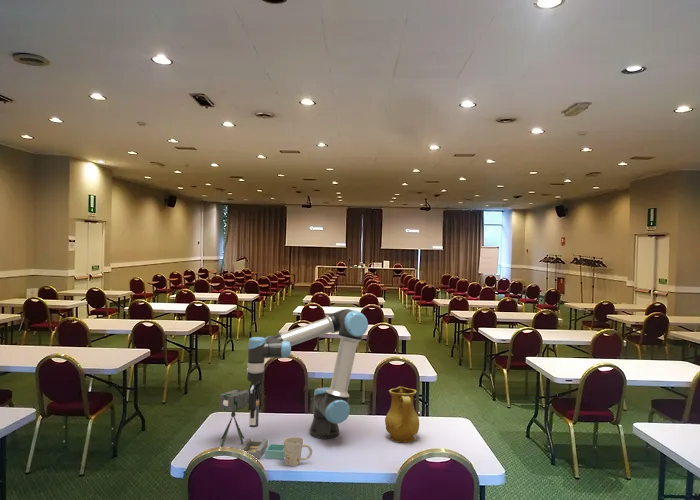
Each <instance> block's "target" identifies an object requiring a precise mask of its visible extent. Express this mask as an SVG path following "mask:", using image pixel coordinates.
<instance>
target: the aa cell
mask: <svg viewBox="0 0 700 500" xmlns="http://www.w3.org/2000/svg"><path fill="white" fill-rule="evenodd" d="M259 405H260V404H259V399H258V398H256V425H249V427H250V428H257V427H259V415H260V414H259V412H260V407H259ZM248 420H249V421H250V419H248Z"/></svg>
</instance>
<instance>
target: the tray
mask: <svg viewBox="0 0 700 500" xmlns="http://www.w3.org/2000/svg"><path fill="white" fill-rule="evenodd" d="M264 459H265V460H278V461H279V460H280V461H281V460H282V461H284V460H285V451H284V443H283V444H282V443H268V447H267V449H266V450H265V453H264Z"/></svg>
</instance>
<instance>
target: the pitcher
mask: <svg viewBox="0 0 700 500" xmlns="http://www.w3.org/2000/svg"><path fill="white" fill-rule="evenodd" d="M388 392H389V394H390V396H391V401H390V402H391V403H390V407H389V410H388V412H387V414H386V415H385V419H384V423H385V424H384V425H385V429H386V432H387V433H388V434H389V435H390V437H389V439H390V440H391V441H393V442H395V443H400V444H401V443H412V442H414V441H415V440H416V438H415V435H417V434H418V432H419V430H420V429H419V428H420V418H419V415H418V414H417V412H416V410H415V406H414V396H415V395H416V394H417V390H416V389H413V388H408V387H404V386H400V385H399V386H398V387H396V388H391V389H389V390H388Z"/></svg>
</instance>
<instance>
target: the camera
mask: <svg viewBox="0 0 700 500" xmlns="http://www.w3.org/2000/svg"><path fill="white" fill-rule="evenodd" d="M241 389H242V388H241V387H238V388H237V389H233V390H230V391H227V392H223V393H220V394H219V403H218V405H219V407H218V408H219V410H223V411H227V412H229V413H230V416H231V418H230V420H229V422H228V424H227V427H225V430H224V432H223V434H222V437H221V444H220V447H224V444H225V442H226V439H227V434H228V433H229V430H230V428H231V423H232V420H234V423H235V427H236V431H237V433H238V438H239V440H240V446H241V445H242V444H243V443H244V441H243V440H244V438H245V437H244V435H243V433H242V431H241V428H240V426H239V424H238V421H237V420H236V419H237V418H236V411H238V410H243V409H245V408H246V407H247V408H248V405H249V389H244V390H242V391H241Z"/></svg>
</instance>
